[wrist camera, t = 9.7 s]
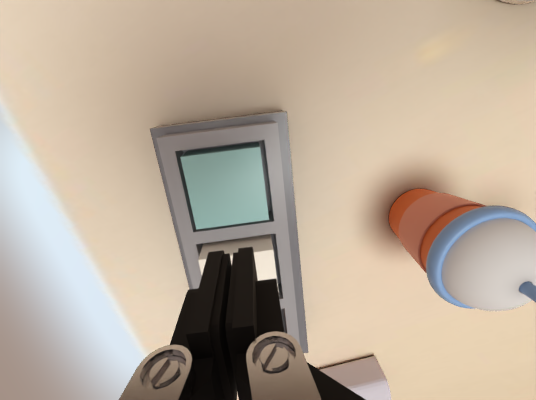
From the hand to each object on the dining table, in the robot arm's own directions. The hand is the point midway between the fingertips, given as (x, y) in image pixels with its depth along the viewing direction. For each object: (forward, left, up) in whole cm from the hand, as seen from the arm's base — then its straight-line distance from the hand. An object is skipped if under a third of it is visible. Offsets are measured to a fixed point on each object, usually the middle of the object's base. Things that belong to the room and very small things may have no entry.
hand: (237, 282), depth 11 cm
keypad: (+9, -1, -20) cm, 21 cm away
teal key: (0, -1, -17) cm, 17 cm away
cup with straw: (+8, +19, -20) cm, 28 cm away
